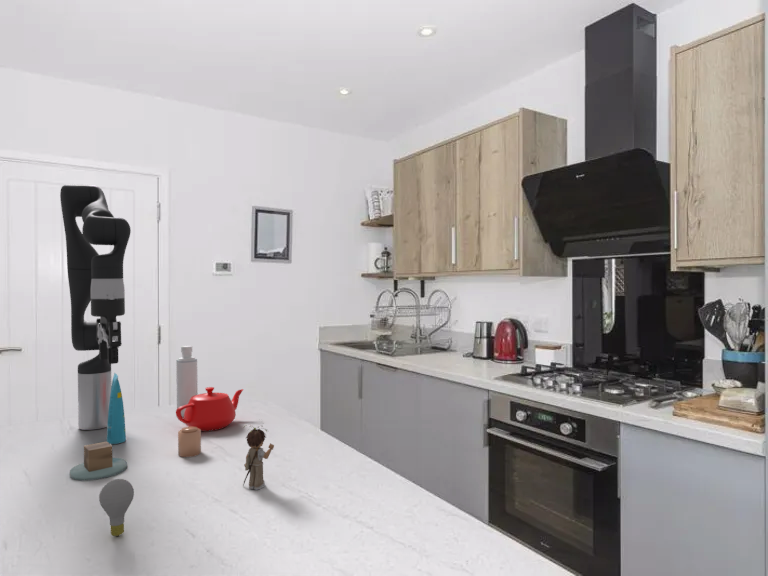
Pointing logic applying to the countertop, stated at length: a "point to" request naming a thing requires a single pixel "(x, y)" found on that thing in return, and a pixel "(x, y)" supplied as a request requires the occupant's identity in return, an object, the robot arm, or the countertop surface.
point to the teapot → (209, 410)
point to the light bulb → (116, 503)
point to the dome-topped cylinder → (189, 442)
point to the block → (97, 456)
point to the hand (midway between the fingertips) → (108, 361)
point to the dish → (83, 474)
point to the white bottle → (186, 377)
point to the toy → (256, 458)
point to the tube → (116, 415)
